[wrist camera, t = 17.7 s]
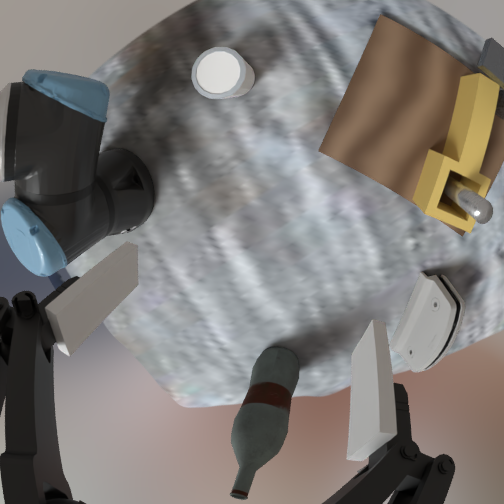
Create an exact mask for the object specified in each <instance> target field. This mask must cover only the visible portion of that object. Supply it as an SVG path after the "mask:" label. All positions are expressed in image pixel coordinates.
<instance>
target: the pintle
mask: <svg viewBox="0 0 504 504" xmlns="http://www.w3.org/2000/svg"><path fill="white" fill-rule="evenodd" d="M443 193H444V194H446V195H447V196H448V197H449V198H450V199H452V200H453V201H454V202H455V203H456V204H458V205H459V206H460V207H461V208H462V209H464V210H465V211H466V212H467V213H468V214H469V215H470V216H471V217H473V218H474V219H475V220H476V221H477V222H478V223H480V224H485V223H487V222H488V221H489V220H490V219H491V217H492V214H493V207H492V205H491V203H490V202H489V201H487V200H486V199H484V198H483V197H481V196H480V195H479V194H477V193H476V192H474V191H473V190H471V189H470V188H468V187H466V186H465V185H463V184H462V183H460V182H459V181H457V180H455V179H454V178H452V177H450V176H449V175H448V178H447V181H446V183H445V186H444V189H443Z"/></svg>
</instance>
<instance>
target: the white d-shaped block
mask: <svg viewBox="0 0 504 504" xmlns="http://www.w3.org/2000/svg"><path fill="white" fill-rule="evenodd" d="M464 311H465V302H464V301H463V299H462V298H461V296H460V295H459V294H458V292H457V291H456V289H455V288H454V287H453V285H452V284H451V282H450V281H449V280H448V278H447V277H446V276H444V275H441V277H440V278H438V277H437V276H436V275H433V276H429V277H427V276H426V275H425V273H424V272H420V275H419V277H418V280H417V282H416V285H415V288H414V290H413V293H412V295H411V297H410V300H409V302H408V305H407V307H406V309H405V311H404V314H403V316H402V318H401V320H400V323H399V325H398V327H397V329H396V331H395V333H394V335H393V337H392V340H391V342H390V344H389V345H390V347H391V349H392V350H393V351H394V352H396V353H399V354H400V355H401V357H402V358H403V359H404V361H405V362H406V363H407V365H408V366H409V367H410V369H411V370H412V371H413V372H421V371H423V370H424V371H425V370H428V369H429V368H431V367H433V366H434V365H435V364H437V363H438V362H439V361H440V360H441V359H442V358H443V357H444V356H445V354H446V353H447V352H448V350H449V349H450V347H451V346H452V344H453V342H454V340H455V338H456V336H457V334H458V332H459V329H460V326H461V323H462V320H463V316H464Z"/></svg>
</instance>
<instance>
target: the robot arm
mask: <svg viewBox="0 0 504 504" xmlns="http://www.w3.org/2000/svg"><path fill="white" fill-rule="evenodd" d="M22 81H23V82H18V83H17V82H16V83H8V84H7V86H6V87H5V88H4V89H3V90H2V91H1V92H0V181H1V182H5V181H11V180H15V197H14V198H9V199H8V200H7V202H5V203H4V205H3V208H2V210H1V221H2V226H3V230H4V233H5V236H6V238H7V241H8V243H9V245H10V247H11V249H12V250H13V252H14V254H15V255H16V256H17V258H18V259H19V260H20V261H21V263H22V264H23V265H24V266H25V267H26V268H27V269H28V270H29V271H31V272H33V273H34V274H36V275H39V276H44V277H45V276H50V275H51V274H53V273H55V272H56V271H58V270H59V269H61V268H65V267H66V266H67V265H68V264H69V263H70V262H72V261H73V260H74V259H76V258H77V257H78V256H80V255H81V254H82V253H84V252H85V251H86V250H88V249H89V248H90V247H92V246H93V245H95V244H96V243H97V242H99V241H100V240H101V239H103V238H104V237H106V236H110V235H116V234H123V233H128V232H131V231H133V230H135V229H136V228H138V227H139V226H140V225H142V224H143V223H144V222H145V221H146V220H147V219H148V217H149V215H150V213H151V211H152V208H153V203H154V188H153V183H152V179H151V177H150V174H149V172H148V170H147V168H146V167H145V165H144V164H143V162H142V161H141V160H140V159H139V158H138V157H137V156H136V155H134V154H133V153H131V152H129V151H127V150H124V149H112V150H108V151H105V152H102V153H100V154H99V151H100V145H101V140H102V135H103V130H104V125H105V122H106V121H107V118H106V114H107V107H108V102H109V96H110V94H109V89H108V87H107V86H106V85H105V84H104V83H102V82H100V81H97V80H94V79H90V78H87V77H82V76H78V75H72V74H67V73H61V72H55V71H47V70H34V69H33V70H28V71H27V72H26V73H25V75H24V76H23V77H22ZM137 286H138V245H135V244H132V243H130V242H126V243H124V244H123V245H122V246H120V247H119V248H118V249H116V250H115V251H114V252H112V253H111V254H110V255H108V256H107V257H106V258H104V259H103V260H102V261H101V262H99V263H98V264H97V265H96V266H94V267H93V268H92V269H90V270H89V271H88V272H87V273H85V274H84V275H83V276H82V277H78V276H76V277H73V278H71V279H68V280H67V281H66V282H64V283H63V284H62V285H61V286H59V287H58V288H57V289H56V291H53V292H52V293H51V294H50V295H49V296H47V297H46V298H45V299H44V300H43V301H41V303H39V304H38V303H37V300H36V296H35V295H34V294H33V293H32V292H30V291H22V292H20V293H18V294H16V295H15V296H14V297H13V299H12V304H13V307H10V305H9V302H8V300H7V299H6V298H4V297H0V415H1V411H2V407H3V403H4V399H5V396H6V402H5V440H6V451H5V452H4V453H2V454H1V456H0V471H1V480H2V487H3V494H4V500H5V504H86V503H84V502H82V501H79V502H78V501H75V500H73V498H72V494H71V490H70V487H69V484H68V482H67V480H66V478H65V476H64V474H63V469H62V464H61V458H60V451H59V444H58V437H57V428H56V419H55V418H56V417H55V403H54V380H53V379H54V378H53V355H54V350H53V345H54V343H55V342H57V345H58V348H59V350H60V351H62V352H63V353H65V354H66V355H68V356H71V355H72V354H73V353H74V352H75V351H76V350H77V348H78V347H79V346H80V345H81V344H82V343H83V342H84V341H85V340H86V339H87V338H88V337H89V335H90V334H91V333H92V332H93V331H94V330H95V329H96V328H97V327H98V326H99V325H100V323H102V322H103V321H104V319H105V318H106V317H107V316H108V315H109V314H110V313H111V312H112V311H113V310H114V309H115V308H116V307H117V306H118V305H119V304H120V303H121V302H122V301H123V300H124V299H125V298H126V297H127V296H128V295H129V294H130V293H131V292H132V291H133V290H134V289H135V288H136V287H137ZM368 457H369V464H368V465H366V466H365V467H364V468H362V469H360V470H359V471H358V474H357V475H355V476H354V477H353V478H352V479H351V480H350V481H349V482H348V483H347V484H345V485H344V486H343V487H342V488H341V489H340V490H338V491H337V492H336V493H335V494H334V495H332V496H331V497H330V498H329V499H327V500H326V501H325V502H324V503H322V504H383V502H384V501H385V500H386V499H387V498H388V497H389V496H390V495H391V494H392V492H393V491H394V490H395V491H394V493H393V495H392V496H391V498H390V500H389V502H388V504H443V503H444V501H445V498H446V496H447V493H448V490H449V487H450V484H451V481H452V478H453V475H454V472H455V464H454V461H453V459H452V458H451V457H450V456H448V455H445V454H442V455H439V456H438V457H436V458H432V457H430V456H427V455H425V454H423V453H421V452H420V450H419V447H418V445H417V444H416V443H415V442H413V441H412V436H411V424H410V413H409V405H408V395H407V392H406V390H405V388H404V386H403V385H402V384H397V383H393V375H392V367H391V359H390V351H389V344H388V337H387V331H386V325H385V322H381V321H377V320H374V319H372V321H371V322H370V324H369V326H368V328H367V329H366V331H365V333H364V335H363V336H362V338H361V340H360V341H359V343H358V345H357V346H356V348H355V350H354V351H353V353H352V354H351V403H350V423H349V437H348V450H347V460H354V461H363V460H365V459H366V458H368Z"/></svg>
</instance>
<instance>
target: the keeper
mask: <svg viewBox="0 0 504 504" xmlns="http://www.w3.org/2000/svg"><path fill="white" fill-rule="evenodd" d="M477 67H478V68H479V69H481V70H482V71H483V72H484V73H485V74H487V75H488V76H489V77H490V78H491V79H492V80H494V81H495V82H496V83H497V84H498V85H499V86H500V87H501V88H502V89H504V48H503V47H502V46H501V45H500V44H499V43H497V42H496V41H495V40H494V39H493V38H490V39H487V40H486V41H485V44H484V48H483V51H482V54H481V57H480V60H479V63H478V66H477ZM495 114H496V115H497V116H498V117H500V118H501V119H502V120H504V90H499V94H498V100H497V105H496V110H495Z"/></svg>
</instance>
